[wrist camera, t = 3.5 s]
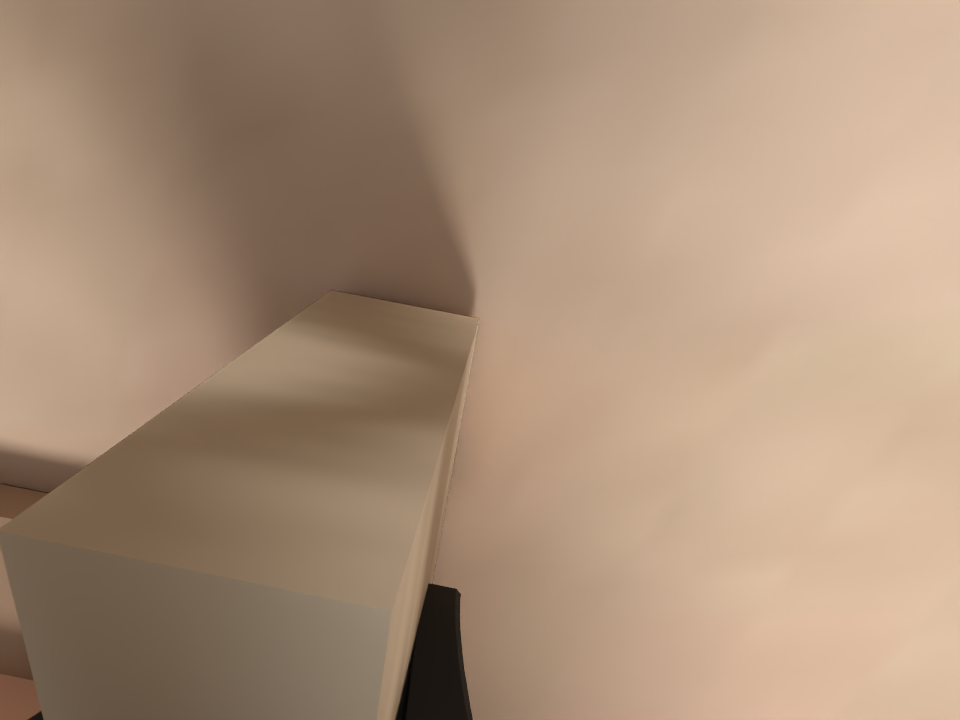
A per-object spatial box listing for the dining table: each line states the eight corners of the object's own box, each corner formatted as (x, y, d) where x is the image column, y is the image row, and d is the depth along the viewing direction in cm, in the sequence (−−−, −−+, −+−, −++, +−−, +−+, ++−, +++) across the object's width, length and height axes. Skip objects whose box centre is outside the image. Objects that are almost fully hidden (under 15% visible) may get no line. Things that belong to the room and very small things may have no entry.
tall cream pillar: (480, 318, 10) (392, 610, 4) (409, 710, 15) (316, 1139, 8) (331, 290, 10) (-4, 529, 4) (307, 689, 15) (138, 1101, 9)
